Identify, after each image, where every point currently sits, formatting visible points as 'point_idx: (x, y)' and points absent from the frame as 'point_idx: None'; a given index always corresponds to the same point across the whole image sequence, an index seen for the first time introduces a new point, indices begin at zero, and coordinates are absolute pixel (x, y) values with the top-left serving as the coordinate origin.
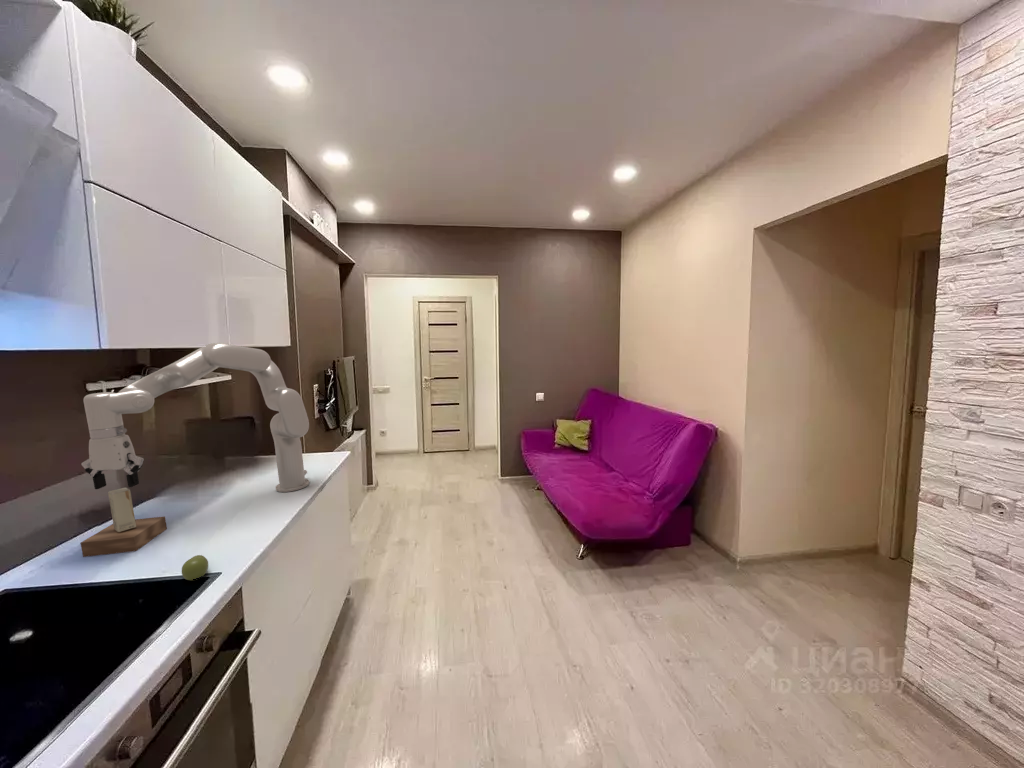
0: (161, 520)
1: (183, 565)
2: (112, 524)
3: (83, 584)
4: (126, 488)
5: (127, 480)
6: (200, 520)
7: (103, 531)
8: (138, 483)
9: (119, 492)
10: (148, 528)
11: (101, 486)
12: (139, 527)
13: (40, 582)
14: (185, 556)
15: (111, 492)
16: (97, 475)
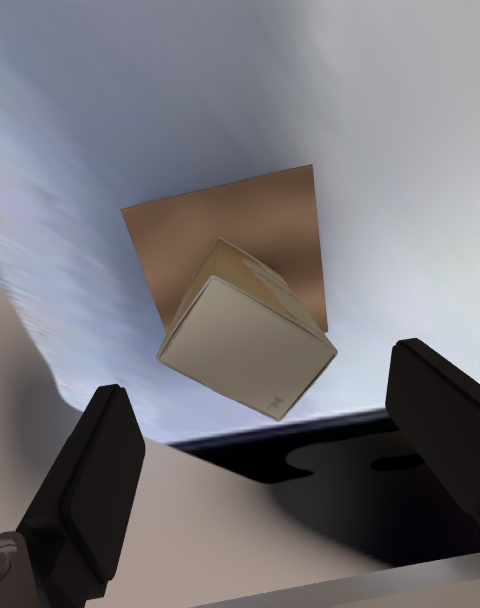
0: (312, 192)
1: None
2: (137, 242)
3: (311, 424)
4: (255, 305)
5: (432, 464)
6: (384, 87)
7: (171, 299)
8: (412, 340)
9: (300, 394)
10: (320, 267)
11: (135, 429)
12: (286, 268)
13: (208, 426)
14: (462, 331)
15: (229, 391)
16: (87, 583)
